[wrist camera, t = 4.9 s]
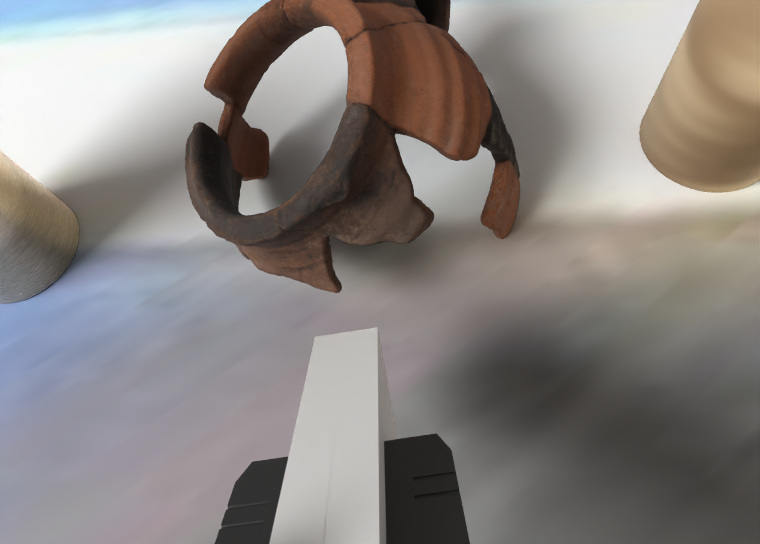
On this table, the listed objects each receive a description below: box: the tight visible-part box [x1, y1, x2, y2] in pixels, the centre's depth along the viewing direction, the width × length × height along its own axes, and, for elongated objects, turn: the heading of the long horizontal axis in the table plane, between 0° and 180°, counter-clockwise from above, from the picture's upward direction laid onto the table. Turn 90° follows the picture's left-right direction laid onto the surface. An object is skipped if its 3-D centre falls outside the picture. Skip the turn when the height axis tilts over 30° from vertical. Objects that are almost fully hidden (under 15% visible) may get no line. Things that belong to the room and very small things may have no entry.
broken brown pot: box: [185, 0, 520, 293], centre depth 18 cm, size 12×9×8 cm
